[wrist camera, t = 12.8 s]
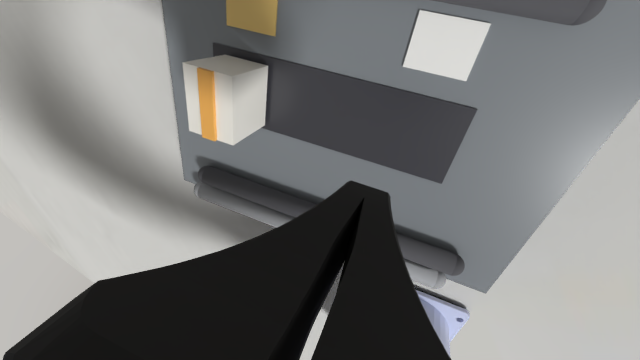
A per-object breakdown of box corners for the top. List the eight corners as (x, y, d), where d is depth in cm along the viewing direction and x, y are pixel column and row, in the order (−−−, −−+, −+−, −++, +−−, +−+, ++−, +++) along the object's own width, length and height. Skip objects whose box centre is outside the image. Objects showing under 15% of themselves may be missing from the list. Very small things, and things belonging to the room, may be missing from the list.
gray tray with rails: (448, 282, 19) (448, 299, 18) (197, 187, 23) (185, 196, 22) (637, -10, 10) (663, -13, 9) (171, -81, 14) (148, -90, 13)
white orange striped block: (264, 125, 18) (230, 146, 15) (226, 113, 18) (186, 132, 15) (268, 65, 16) (229, 77, 13) (225, 54, 16) (179, 63, 13)
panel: (481, 271, 20) (485, 295, 19) (200, 169, 25) (183, 180, 23) (709, -43, 10) (763, -54, 9) (176, -110, 15) (143, -126, 14)
